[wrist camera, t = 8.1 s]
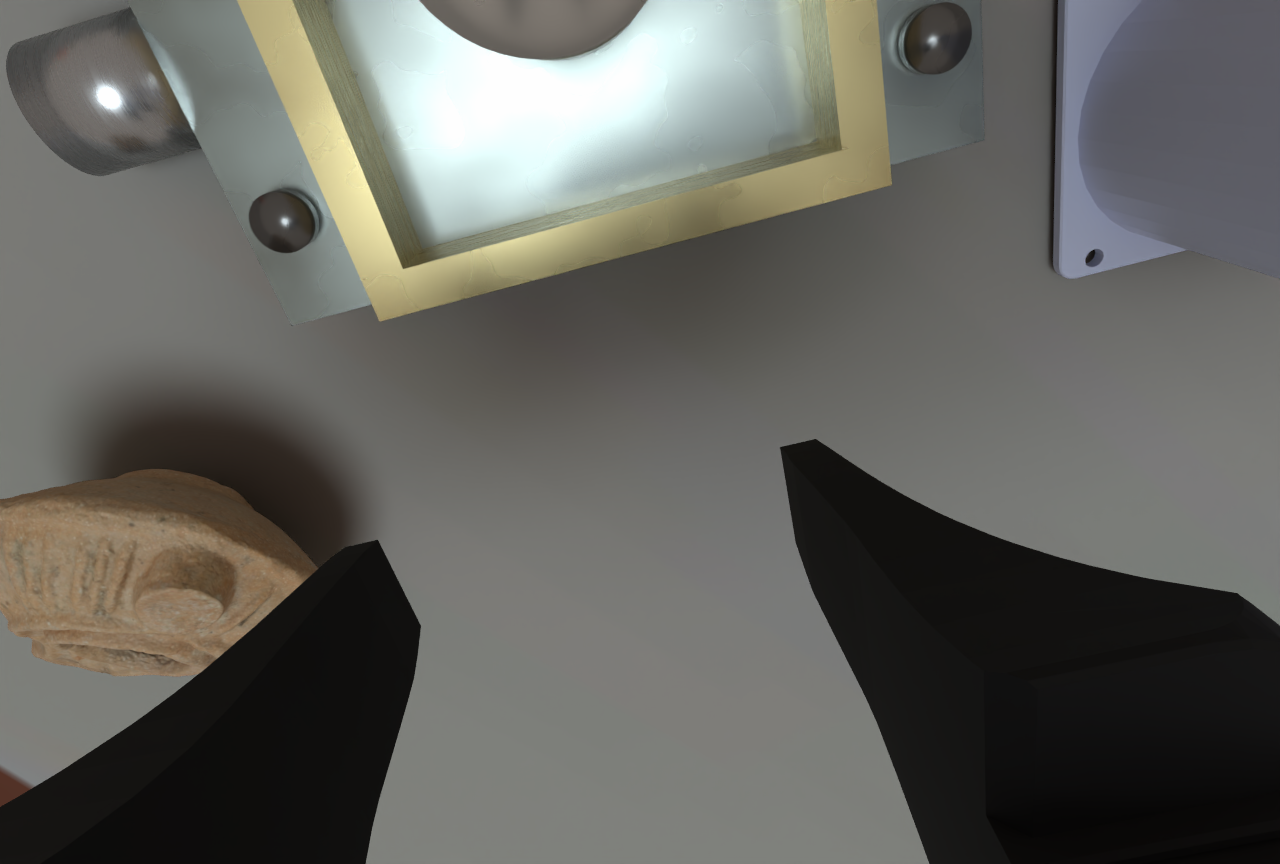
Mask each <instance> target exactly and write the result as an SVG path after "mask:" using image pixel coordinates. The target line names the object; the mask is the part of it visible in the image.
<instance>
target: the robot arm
mask: <svg viewBox="0 0 1280 864" xmlns="http://www.w3.org/2000/svg"><path fill="white" fill-rule="evenodd" d="M1094 249H1095V255H1094V258H1093V259H1092V260H1091V261H1090V262H1088V263H1086V262H1085V259H1086V256H1087V255H1088V253H1089V252H1090V251H1092V250H1094ZM1186 250H1190V251H1193V252H1196V253H1199V254H1203V255H1206V256H1209V257H1212V258H1215V259H1219V260H1222V261H1225V262H1228V263H1231V264H1235V265H1238V266H1241V267H1244V268H1247V269H1250V270H1254V271H1257V272H1260V273H1263V274H1266V275H1270V276H1273V277H1276V278H1279V279H1280V0H1058V35H1057V87H1056V139H1055V192H1054V244H1053V266H1054V270H1055V271H1056V272H1057V274H1059V275H1061V276H1063V277H1066V278H1068V279H1074V278H1079V277H1083V276H1087V275H1091V274H1095V273H1099V272H1103V271H1107V270H1111V269H1115V268H1119V267H1123V266H1127V265H1131V264H1134V263H1138V262H1142V261H1146V260H1150V259H1154V258H1158V257H1162V256H1166V255H1170V254H1174V253H1178V252H1182V251H1186ZM780 449H781V455H782V461H783V467H784V473H785V479H786V486H787V492H788V498H789V504H790V510H791V516H792V522H793V528H794V534H795V541H796V545H797V548H798V550H799V553H800V556H801V559H802V562H803V565H804V568H805V571H806V574H807V576H808V579H809V582H810V585H811V588H812V590H813V593H814V595H815V597H816V599H817V601H818V603H819V605H820V607H821V609H822V611H823V613H824V615H825V617H826V619H827V621H828V623H829V625H830V627H831V629H832V631H833V633H834V635H835V637H836V639H837V641H838V643H839V645H840V647H841V649H842V651H843V653H844V655H845V657H846V659H847V661H848V663H849V665H850V667H851V669H852V671H853V673H854V675H855V677H856V679H857V681H858V683H859V685H860V687H861V689H862V691H863V693H864V695H865V697H866V699H867V701H868V703H869V706H870V708H871V710H872V712H873V715H874V717H875V719H876V721H877V724H878V726H879V729H880V732H881V734H882V737H883V740H884V742H885V745H886V747H887V750H888V753H889V755H890V758H891V761H892V763H893V766H894V768H895V771H896V774H897V776H898V779H899V782H900V784H901V787H902V790H903V793H904V795H905V798H906V801H907V803H908V806H909V809H910V812H911V814H912V817H913V820H914V822H915V825H916V828H917V831H918V833H919V836H920V839H921V841H922V844H923V847H924V850H925V853H926V855H927V858H928V861H929V864H1280V626H1279V625H1278V624H1277V623H1276V622H1275V621H1273V620H1272V619H1271V618H1269V617H1268V616H1267V615H1266V614H1264V613H1263V612H1262V611H1260V610H1259V609H1258V608H1257V607H1255V606H1254V605H1253V604H1251V603H1250V602H1249V601H1247V600H1246V599H1244V598H1243V597H1241V596H1240V595H1239V594H1238V593H1233V592H1227V591H1220V590H1214V589H1208V588H1202V587H1196V586H1190V585H1184V584H1178V583H1172V582H1166V581H1160V580H1153V579H1148V578H1143V577H1138V576H1133V575H1129V574H1124V573H1120V572H1116V571H1111V570H1107V569H1103V568H1098V567H1094V566H1089V565H1086V564H1082V563H1078V562H1074V561H1071V560H1067V559H1063V558H1059V557H1056V556H1053V555H1050V554H1046V553H1043V552H1040V551H1037V550H1034V549H1030V548H1027V547H1024V546H1021V545H1018V544H1015V543H1012V542H1009V541H1006V540H1003V539H1000V538H998V537H995V536H992V535H990V534H987V533H985V532H982V531H980V530H977V529H975V528H972V527H970V526H968V525H965V524H963V523H960V522H958V521H955V520H953V519H951V518H949V517H947V516H944V515H942V514H940V513H938V512H936V511H934V510H932V509H930V508H928V507H926V506H924V505H922V504H920V503H918V502H916V501H914V500H912V499H910V498H908V497H907V496H905V495H903V494H901V493H899V492H898V491H896V490H894V489H892V488H891V487H889V486H887V485H886V484H884V483H882V482H881V481H879V480H877V479H876V478H874V477H872V476H871V475H869V474H868V473H866V472H864V471H863V470H861V469H860V468H858V467H857V466H855V465H854V464H852V463H851V462H849V461H848V460H846V459H845V458H843V457H842V456H840V455H839V454H837V453H836V452H835V451H833V450H832V449H830V448H829V447H827V446H826V445H824V444H822V443H821V442H819V441H818V440H816V439H814V440H810V441H805V442H801V443H797V444H792V445H788V446H783V447H780ZM420 629H421V625H420V623H419V621H418V619H417V617H416V615H415V613H414V611H413V609H412V607H411V605H410V603H409V601H408V599H407V597H406V595H405V593H404V591H403V589H402V587H401V585H400V583H399V581H398V579H397V577H396V575H395V573H394V571H393V569H392V567H391V565H390V563H389V561H388V559H387V557H386V555H385V553H384V551H383V549H382V547H381V545H380V543H379V541H378V540H375V541H371V542H366V543H362V544H358V545H353V546H349V547H345V548H344V549H342V550H341V551H340V552H338V553H337V554H335V555H334V556H333V557H332V558H330V559H329V560H328V561H327V562H326V563H324V564H323V565H322V566H321V567H320V568H319V569H317V570H316V571H315V572H314V573H313V574H312V575H311V576H310V577H308V578H307V579H306V580H305V581H304V582H303V583H302V584H301V585H300V586H299V587H297V588H296V589H295V590H294V591H293V592H292V593H291V594H290V595H289V596H288V597H286V598H285V599H284V600H283V601H282V602H281V603H280V604H279V605H278V606H277V607H275V608H274V609H273V610H272V611H271V612H270V613H269V614H268V615H267V616H266V617H264V618H263V619H262V620H261V621H260V622H259V623H258V624H257V625H256V626H255V627H253V628H252V629H251V630H250V631H249V632H248V633H246V634H245V635H244V636H243V637H242V638H241V639H239V640H238V641H237V642H236V643H235V644H234V645H232V646H231V647H230V648H229V649H228V650H227V651H225V652H224V653H223V654H222V655H221V656H220V657H218V658H217V659H216V660H215V661H214V662H213V663H211V664H210V665H209V666H208V667H207V668H206V669H204V670H203V671H202V672H201V673H199V674H198V675H197V676H196V677H194V678H193V679H192V680H191V681H189V682H188V683H187V684H186V685H184V686H183V687H182V688H180V689H179V690H178V691H177V692H175V693H174V694H173V695H171V696H170V697H169V698H167V699H166V700H165V701H163V702H162V703H160V704H159V705H158V706H156V707H155V708H154V709H152V710H151V711H150V712H148V713H147V714H146V715H144V716H143V717H142V718H140V719H139V720H137V721H136V722H134V723H133V724H132V725H130V726H129V727H127V728H126V729H124V730H123V731H121V732H120V733H118V734H117V735H115V736H114V737H112V738H111V739H109V740H108V741H106V742H105V743H103V744H102V745H100V746H98V747H97V748H95V749H94V750H92V751H91V752H89V753H88V754H86V755H85V756H83V757H82V758H80V759H79V760H77V761H76V762H74V763H73V764H71V765H70V766H68V767H67V768H65V769H63V770H62V771H60V772H59V773H57V774H55V775H54V776H52V777H50V778H49V779H47V780H45V781H44V782H42V783H40V784H39V785H37V786H35V787H34V788H32V789H30V790H29V791H27V792H25V793H24V794H22V795H20V796H19V797H17V798H15V799H13V800H12V801H10V802H8V803H6V804H5V805H3V806H1V807H0V864H366V858H367V853H368V847H369V842H370V836H371V831H372V826H373V822H374V818H375V814H376V810H377V805H378V801H379V798H380V794H381V791H382V787H383V784H384V781H385V777H386V774H387V770H388V767H389V764H390V760H391V757H392V753H393V750H394V747H395V743H396V740H397V736H398V733H399V730H400V726H401V723H402V719H403V716H404V712H405V709H406V705H407V702H408V698H409V695H410V691H411V687H412V683H413V680H414V674H415V668H416V661H417V655H418V647H419V638H420Z"/></svg>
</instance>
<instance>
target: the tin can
mask: <svg viewBox="0 0 1280 864" xmlns="http://www.w3.org/2000/svg"><path fill="white" fill-rule="evenodd" d="M419 1H420V2H421V3H422V4H423V5H424V7H425V8H426V9H427V10H428V11H429V12H430V13H431V14H433V15H434V16H435V17H436V18H437V19H438V20H439V21H441V22H442V23H443V24H444V25H445V26H447V27H448V28H450V29H451V30H452V31H454V32H455V33H457V34H458V35H460V36H461V37H463V38H465V39H467V40H468V41H470V42H472V43H474V44H476V45H478V46H480V47H482V48H485V49H488V50H491V51H494V52H497V53H499V54H503V55H508V56H513V57H518V58H526V59H536V60H547V61H564V60H572V59H577V58H581V57H584V56H587V55H589V54H592V53H594V52H597V51H598V50H600V49H602V48H603V47H605V46H607V45H608V44H610V43H611V42H612V41H613V40H615V39H616V38H617V37H618V36H620V34H621V33H622V32H623V31H624V30H625V29H626V28H627V27H628V26H629V25H630V24H631V22H632V21H633V20H634V18H635V17H636V15H637V14H638V13H639V11H640V10H641V9H642V7H643V6H644V5H645V3H646V2H647V1H648V0H419Z"/></svg>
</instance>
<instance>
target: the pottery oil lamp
mask: <svg viewBox="0 0 1280 864" xmlns="http://www.w3.org/2000/svg"><path fill="white" fill-rule="evenodd" d="M317 569H319V568H318V567H317V566H316V565H315V564H314V563H313V562H312V561H311V559H310V558H309V557H308V556H307V555H306V554H305V553H304V552H303V551H302V550H301V548H300V547H299V546H298V545H297V544H296V543H295V542H294V541H293V540H292V539H291V538H290V537H289V536H288V535H287V534H286V533H285V532H284V531H282V530H281V529H280V528H279V527H278V526H276V525H275V524H274V523H273V522H271V521H270V520H269V519H267V518H266V517H264V516H262V515H261V514H259V513H258V512H256V511H254V510H253V508H252V506H251V505H250V504H249V503H247V501H246V500H245V499H244V498H243V497H242V496H241V495H240V494H239V493H238V492H236V491H235V490H234V489H232V488H230V487H227V486H223V485H220V484H219V483H218V482H215V481H213V480H210V479H208V478H205V477H201V476H198V475H194V474H190V473H185V472H180V471H174V470H169V469H146V470H138V471H133V472H129V473H125V474H123V475H121V476H118V477H116V478H111V479H100V480H89V481H82V482H77V483H73V484H69V485H66V486H61V487H53V488H49V489H45V490H40V491H38V492H33V493H28V494H22V495H19V496H15V497H12V498H7V499H0V610H1V611H2V613H3V614H4V615H5V617H6V618H7V620H8V629H9V630H10V631H11V632H14V634H15V635H17V636H19V637H29V638H31V639H33V641H32V654H33V655H34V656H35V657H38V658H40V659H43V660H45V661H48V662H52V663H55V664H61V665H68V666H75V667H80V668H83V669H87V670H91V671H96V672H101V673H108V674H111V675H113V676H138V675H161V676H174V677H178V676H188V675H195V674H199V673H201V672H202V671H203V670H204V669H206V668H207V667H208V666H209V665H210V664H211V663H213V662H214V661H215V660H216V659H217V658H218V657H220V656H221V655H222V654H223V653H224V652H225V651H227V650H228V649H229V648H230V647H231V646H232V645H234V644H235V643H236V642H237V641H238V640H239V639H241V638H242V637H243V636H244V635H245V634H246V633H248V632H249V631H250V630H251V629H252V628H253V627H255V626H256V625H257V624H258V623H259V622H260V621H261V620H262V619H263V618H264V617H266V616H267V615H268V614H269V613H270V612H271V611H272V610H273V609H274V608H275V607H277V606H278V605H279V604H280V603H281V602H282V601H283V600H284V599H285V598H286V597H288V596H289V595H290V594H291V593H292V592H293V591H294V590H295V589H296V588H297V587H299V586H300V585H301V584H302V583H303V582H304V581H305V580H306V579H307V578H308V577H310V576H311V575H312V574H313V573H314V572H315V571H316V570H317Z"/></svg>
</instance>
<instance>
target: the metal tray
mask: <svg viewBox="0 0 1280 864" xmlns="http://www.w3.org/2000/svg"><path fill="white" fill-rule="evenodd" d="M127 1H128V3H129V5H130V7H131V8H127V9H124V10H121V11H118V12H114V13H111V14H108V15H105V16H101V17H98V18H95V19H91V20H88V21H85V22H82V23H78V24H75V25H72V26H69V27H65V28H62V29H59V30H56V31H52V32H49V33H46V34H42V35H39V36H36V37H33V38H29V39H26V40H23V41H20V42H17V43H15V44H14V45H13V46H12V47H11V48H10V50H9V52H8V55H7V60H6V70H7V77H8V81H9V85H10V88H11V91H12V93H13V96H14V98H15V100H16V102H17V104H18V106H19V108H20V110H21V112H22V114H23V115H24V117H25V118H26V120H27V121H28V123H29V124H30V126H31V127H32V128H33V130H34V131H35V132H36V134H37V135H38V136H39V137H40V138H41V139H42V141H43V142H44V143H45V144H46V145H47V146H48V147H49V148H50V149H51V150H52V151H53V152H54V153H55V154H57V155H58V156H59V157H60V158H61V159H63V160H64V161H65V162H67V163H68V164H70V165H71V166H73V167H74V168H76V169H78V170H80V171H82V172H85V173H87V174H91V175H95V176H105V175H109V174H113V173H116V172H119V171H123V170H126V169H130V168H133V167H137V166H140V165H144V164H147V163H151V162H154V161H157V160H161V159H164V158H168V157H171V156H175V155H178V154H182V153H185V152H189V151H192V150H196V149H199V148H202V150H203V152H204V154H205V156H206V158H207V159H208V161H209V163H210V165H211V167H212V169H213V171H214V173H215V175H216V177H217V179H218V181H219V183H220V185H221V187H222V189H223V191H224V193H225V195H226V197H227V199H228V201H229V203H230V205H231V207H232V209H233V211H234V213H235V215H236V217H237V219H238V221H239V223H240V225H241V227H242V229H243V231H244V233H245V235H246V237H247V239H248V241H249V243H250V245H251V247H252V248H253V250H254V252H255V254H256V256H257V258H258V260H259V262H260V264H261V266H262V268H263V270H264V272H265V274H266V276H267V278H268V280H269V282H270V284H271V286H272V288H273V290H274V292H275V294H276V296H277V298H278V300H279V302H280V304H281V306H282V308H283V310H284V312H285V314H286V316H287V318H288V320H289V322H290V324H291V326H294V325H297V324H301V323H305V322H309V321H312V320H316V319H320V318H323V317H327V316H331V315H335V314H338V313H342V312H346V311H350V310H353V309H357V308H361V307H364V306H368V305H372V306H373V308H374V310H375V313H376V315H377V317H378V319H379V322H380V321H383V320H387V319H391V318H395V317H398V316H402V315H406V314H410V313H413V312H417V311H421V310H425V309H428V308H432V307H436V306H440V305H443V304H447V303H451V302H455V301H458V300H462V299H466V298H470V297H474V296H477V295H481V294H485V293H489V292H492V291H496V290H500V289H504V288H507V287H511V286H515V285H519V284H522V283H526V282H530V281H534V280H537V279H541V278H545V277H549V276H552V275H556V274H560V273H564V272H567V271H571V270H575V269H579V268H582V267H586V266H590V265H594V264H597V263H601V262H605V261H609V260H612V259H616V258H620V257H624V256H627V255H631V254H635V253H639V252H642V251H646V250H650V249H654V248H657V247H661V246H665V245H669V244H672V243H676V242H680V241H684V240H687V239H691V238H695V237H699V236H702V235H706V234H710V233H714V232H717V231H721V230H725V229H729V228H732V227H736V226H740V225H744V224H747V223H751V222H755V221H759V220H762V219H766V218H770V217H774V216H777V215H781V214H785V213H789V212H792V211H796V210H800V209H804V208H807V207H811V206H815V205H819V204H822V203H826V202H830V201H834V200H838V199H841V198H845V197H849V196H853V195H856V194H860V193H864V192H868V191H871V190H875V189H879V188H883V187H886V186H890V185H892V180H891V167H890V165H893V164H897V163H901V162H905V161H908V160H912V159H916V158H920V157H923V156H927V155H931V154H934V153H938V152H942V151H946V150H949V149H953V148H957V147H960V146H964V145H968V144H972V143H975V142H979V141H983V140H984V100H983V59H982V18H981V0H648V1H647V2H646V3H645V5H644V6H643V7H642V9H641V10H640V11H639V13H638V14H637V15H636V17H635V18H634V20H633V21H632V22H631V24H630V25H629V26H628V27H627V28H626V29H625V30H624V31H623V32H622V33H621V34H620V36H618V37H617V38H616V39H615V40H613V41H612V42H611V43H610V44H608V45H607V46H605V47H603V48H602V49H600V50H598V51H597V52H594V53H592V54H589V55H587V56H584V57H581V58H577V59H572V60H564V61H547V60H536V59H526V58H518V57H513V56H508V55H503V54H499V53H497V52H494V51H491V50H488V49H485V48H482V47H480V46H478V45H476V44H474V43H472V42H470V41H468V40H467V39H465V38H463V37H461V36H460V35H458V34H457V33H455V32H454V31H452V30H451V29H450V28H448V27H447V26H445V25H444V24H443V23H442V22H441V21H439V20H438V19H437V18H436V17H435V16H434V15H433V14H431V13H430V12H429V11H428V10H427V9H426V8H425V7H424V5H423V4H422V3H421V2H420V1H419V0H127Z"/></svg>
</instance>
